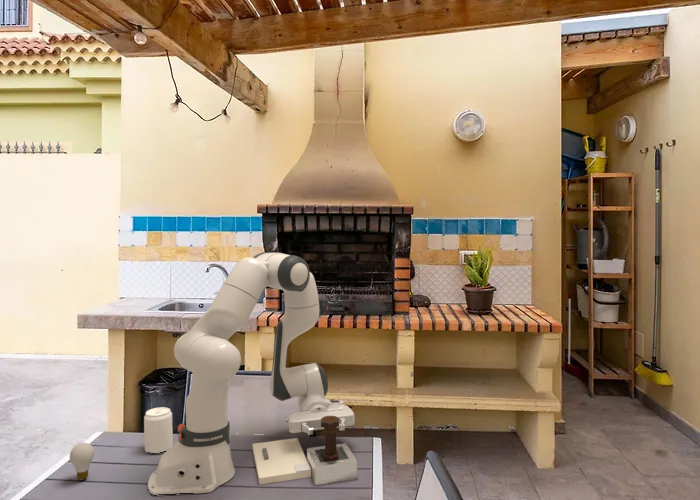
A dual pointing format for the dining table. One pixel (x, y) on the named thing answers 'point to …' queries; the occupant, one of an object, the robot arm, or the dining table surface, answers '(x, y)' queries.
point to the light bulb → (82, 459)
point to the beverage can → (158, 430)
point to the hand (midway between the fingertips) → (326, 429)
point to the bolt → (330, 438)
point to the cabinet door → (280, 461)
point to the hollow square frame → (332, 465)
